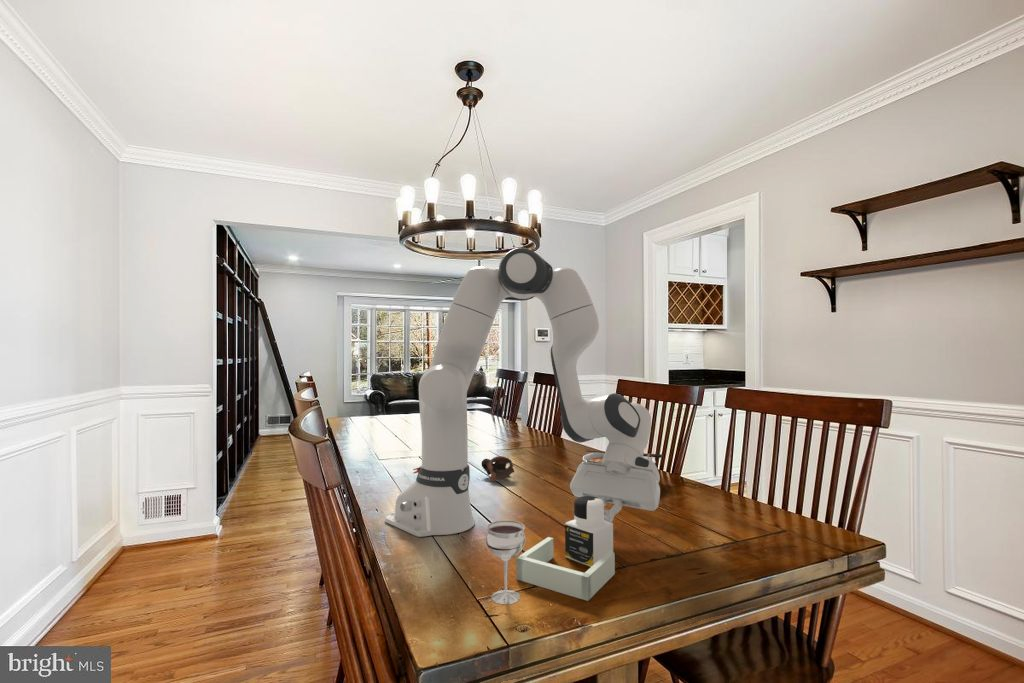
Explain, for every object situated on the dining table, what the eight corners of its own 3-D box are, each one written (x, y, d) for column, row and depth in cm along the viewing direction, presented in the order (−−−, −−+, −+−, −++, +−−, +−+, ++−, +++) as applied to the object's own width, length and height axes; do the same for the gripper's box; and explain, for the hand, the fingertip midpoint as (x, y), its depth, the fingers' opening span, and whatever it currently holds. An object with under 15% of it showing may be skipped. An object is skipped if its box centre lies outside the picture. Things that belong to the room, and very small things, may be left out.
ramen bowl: (570, 487, 153) (570, 460, 153) (588, 469, 174) (588, 446, 174) (654, 496, 143) (654, 468, 143) (663, 477, 164) (663, 452, 164)
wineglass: (517, 610, 82) (517, 536, 82) (479, 602, 84) (479, 531, 84) (531, 591, 88) (530, 523, 88) (495, 584, 90) (495, 518, 91)
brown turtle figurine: (518, 477, 166) (519, 459, 162) (505, 496, 159) (505, 477, 155) (487, 465, 171) (487, 446, 167) (472, 483, 163) (472, 464, 159)
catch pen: (516, 579, 93) (516, 557, 93) (548, 556, 103) (548, 536, 103) (587, 601, 85) (587, 577, 85) (614, 574, 95) (614, 552, 95)
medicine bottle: (564, 557, 102) (564, 498, 102) (585, 547, 107) (585, 491, 107) (592, 568, 97) (592, 506, 97) (613, 557, 102) (613, 498, 102)
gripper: (576, 452, 121) (557, 503, 113) (661, 463, 110) (646, 520, 102) (584, 467, 125) (566, 517, 117) (667, 479, 114) (653, 535, 105)
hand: (604, 519), depth 109 cm, fingers closed
